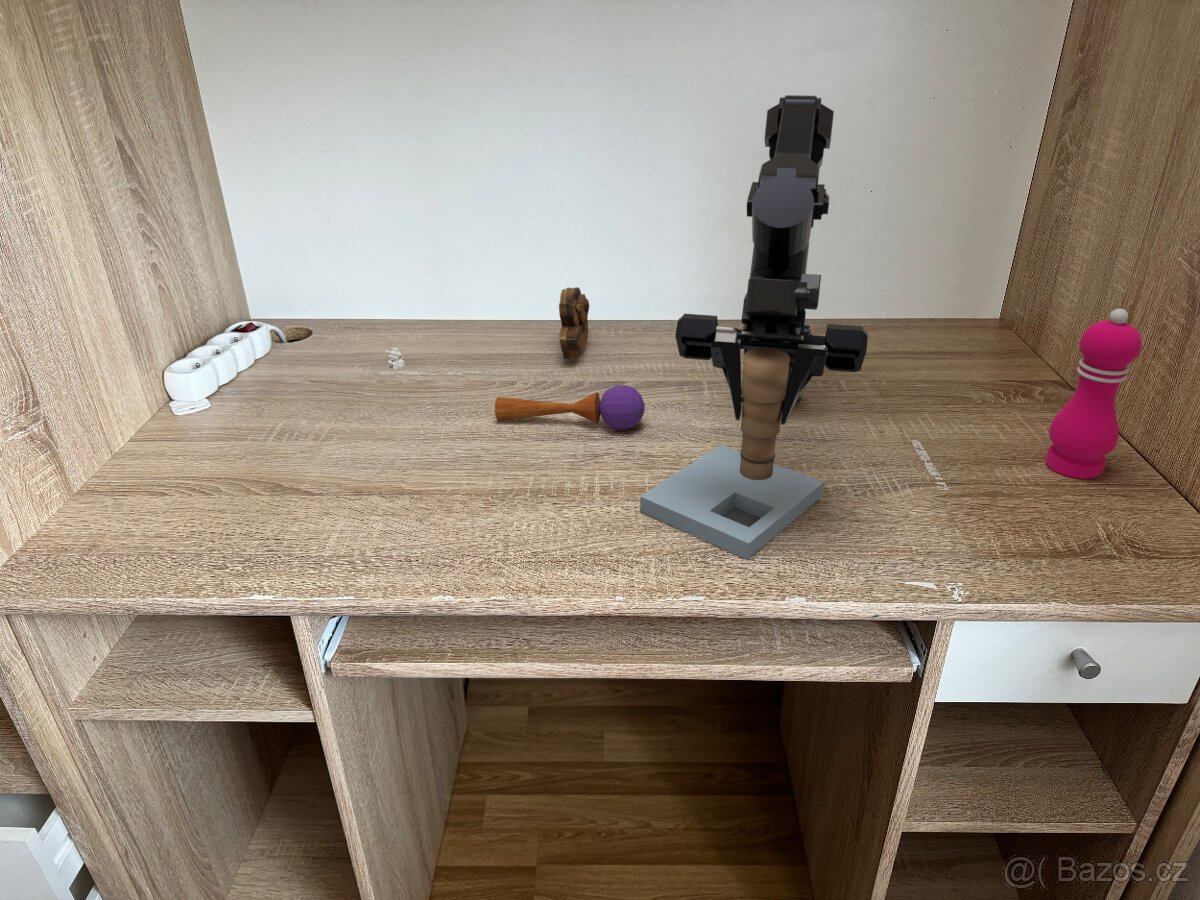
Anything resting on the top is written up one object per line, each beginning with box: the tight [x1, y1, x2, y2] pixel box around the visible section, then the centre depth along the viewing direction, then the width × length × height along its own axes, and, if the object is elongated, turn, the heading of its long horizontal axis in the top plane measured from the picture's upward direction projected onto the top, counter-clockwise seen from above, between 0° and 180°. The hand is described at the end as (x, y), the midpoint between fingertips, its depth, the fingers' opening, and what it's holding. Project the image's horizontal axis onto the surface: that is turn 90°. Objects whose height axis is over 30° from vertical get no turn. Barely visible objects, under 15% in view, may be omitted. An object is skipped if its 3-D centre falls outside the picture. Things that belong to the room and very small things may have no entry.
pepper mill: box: [1045, 308, 1143, 480], centre depth 96 cm, size 7×7×20 cm
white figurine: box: [384, 347, 405, 371], centre depth 130 cm, size 3×3×3 cm
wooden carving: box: [558, 287, 590, 360], centre depth 134 cm, size 16×5×10 cm, turn 179°
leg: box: [740, 348, 790, 480], centre depth 83 cm, size 4×4×13 cm
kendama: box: [494, 384, 646, 431], centre depth 111 cm, size 6×6×20 cm
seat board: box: [639, 444, 825, 560], centre depth 93 cm, size 16×14×2 cm
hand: (760, 421), depth 82 cm, fingers closed on leg, 4 cm apart
